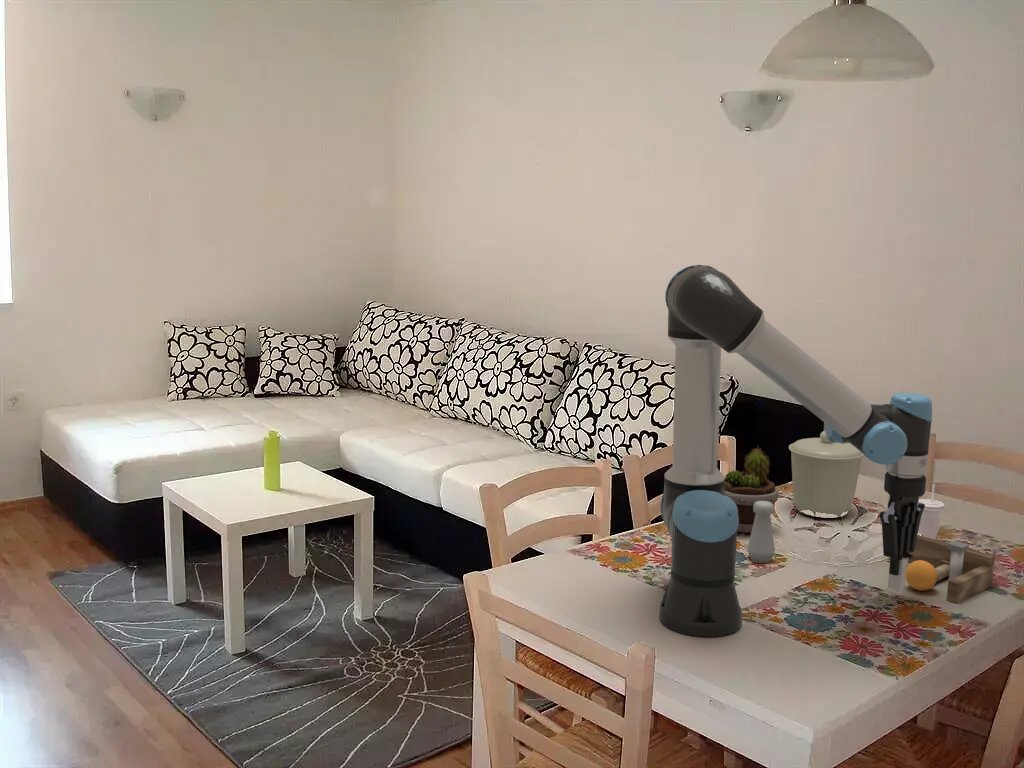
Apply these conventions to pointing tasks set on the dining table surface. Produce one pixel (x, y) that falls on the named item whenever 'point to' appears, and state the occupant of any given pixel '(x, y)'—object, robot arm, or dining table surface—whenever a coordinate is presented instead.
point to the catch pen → (973, 572)
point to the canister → (824, 474)
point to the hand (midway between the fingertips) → (895, 588)
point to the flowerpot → (750, 489)
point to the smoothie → (930, 516)
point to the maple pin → (943, 569)
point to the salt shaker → (762, 533)
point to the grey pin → (956, 558)
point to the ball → (921, 575)
